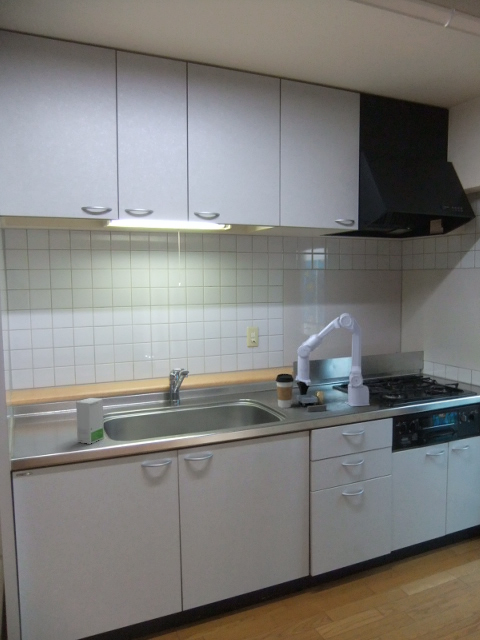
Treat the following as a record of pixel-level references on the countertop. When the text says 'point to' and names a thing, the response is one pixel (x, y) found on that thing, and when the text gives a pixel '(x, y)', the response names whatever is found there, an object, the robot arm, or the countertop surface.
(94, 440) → the skincare box
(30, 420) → the countertop surface
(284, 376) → the coffee cup
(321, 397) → the brass cylinder
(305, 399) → the grey square tray
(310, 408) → the stop
